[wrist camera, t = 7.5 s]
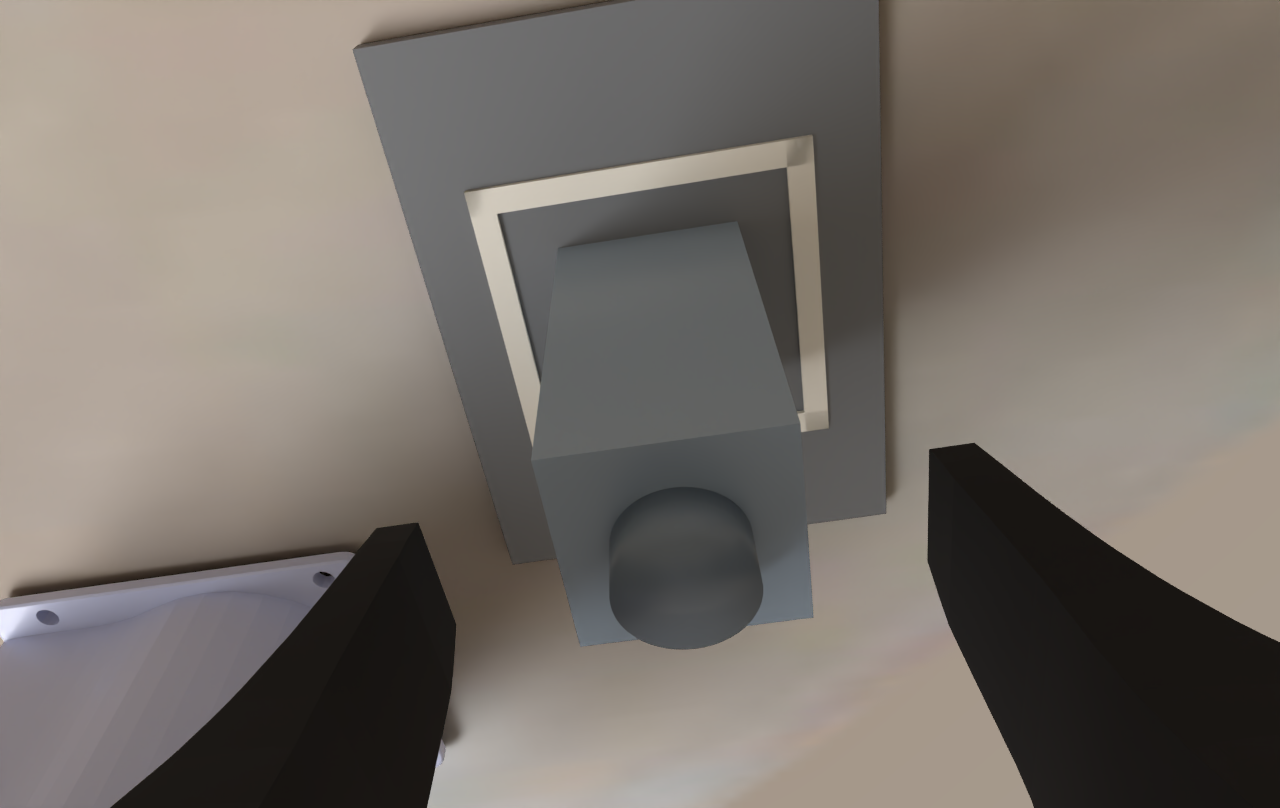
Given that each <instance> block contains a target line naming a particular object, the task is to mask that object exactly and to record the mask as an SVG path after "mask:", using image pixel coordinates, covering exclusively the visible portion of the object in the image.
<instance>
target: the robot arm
mask: <svg viewBox="0 0 1280 808" xmlns="http://www.w3.org/2000/svg"><path fill="white" fill-rule="evenodd" d="M928 564H929V567H930V570H931V573H932V576H933V579H934V582H935V585H936V588H937V592H938V595H939V598H940V601H941V603H942V606H943V609H944V612H945V615H946V618H947V621H948V624H949V626H950V628H951V630H952V633H953V635H954V637H955V639H956V641H957V643H958V645H959V647H960V650H961V652H962V654H963V656H964V658H965V660H966V662H967V664H968V666H969V668H970V671H971V673H972V675H973V677H974V679H975V681H976V683H977V685H978V687H979V689H980V691H981V693H982V695H983V697H984V699H985V702H986V703H987V706H988V708H989V710H990V712H991V714H992V716H993V718H994V720H995V722H996V724H997V726H998V728H999V730H1000V732H1001V734H1002V737H1003V738H1004V741H1005V743H1006V745H1007V747H1008V748H1009V751H1010V753H1011V755H1012V757H1013V759H1014V761H1015V763H1016V765H1017V768H1018V770H1019V772H1020V775H1021V777H1022V779H1023V782H1024V784H1025V786H1026V788H1027V791H1028V793H1029V795H1030V798H1031V800H1032V803H1033V806H1034V808H1280V642H1278V641H1276V640H1274V639H1271V638H1269V637H1267V636H1265V635H1263V634H1261V633H1259V632H1257V631H1255V630H1253V629H1251V628H1249V627H1247V626H1245V625H1243V624H1241V623H1239V622H1237V621H1235V620H1233V619H1232V618H1230V617H1228V616H1226V615H1224V614H1222V613H1220V612H1219V611H1217V610H1215V609H1213V608H1211V607H1210V606H1208V605H1206V604H1204V603H1203V602H1200V601H1199V600H1197V599H1195V598H1194V597H1192V596H1190V595H1188V594H1186V593H1184V592H1182V591H1181V590H1179V589H1177V588H1176V587H1174V586H1173V585H1170V584H1169V583H1167V582H1166V581H1164V580H1162V579H1161V578H1159V577H1157V576H1156V575H1154V574H1153V573H1151V572H1150V571H1148V570H1147V569H1145V568H1143V567H1142V566H1140V565H1139V564H1137V563H1136V562H1134V561H1132V560H1131V559H1130V558H1128V557H1126V556H1125V555H1123V554H1122V553H1120V552H1119V551H1117V550H1116V549H1114V548H1113V547H1111V546H1110V545H1108V544H1107V543H1105V542H1104V541H1102V540H1101V539H1100V538H1098V537H1097V536H1095V535H1094V534H1092V533H1091V532H1090V531H1088V530H1087V529H1086V528H1084V527H1083V526H1081V525H1080V524H1079V523H1077V522H1076V521H1075V520H1073V519H1072V518H1070V517H1069V516H1068V515H1066V514H1065V513H1064V512H1062V511H1061V510H1060V509H1058V508H1057V507H1056V506H1054V505H1053V504H1052V503H1050V502H1049V501H1048V500H1046V499H1045V498H1044V497H1043V496H1041V495H1040V494H1039V493H1037V492H1036V491H1035V490H1034V489H1032V488H1031V487H1030V486H1028V485H1027V484H1026V483H1025V482H1023V481H1022V480H1021V479H1020V478H1018V477H1017V476H1016V475H1015V474H1013V473H1012V472H1011V471H1010V470H1008V469H1007V468H1006V467H1004V466H1003V465H1002V464H1001V463H999V462H998V461H997V460H996V459H994V458H993V457H992V456H991V455H989V454H988V453H987V452H985V451H984V450H983V449H982V448H980V447H979V446H978V445H976V444H975V443H970V444H963V445H956V446H949V447H942V448H935V449H929V502H928ZM320 572H327V573H329V574H331V575H332V576H325V575H322V574H321V573H320ZM455 636H456V623H455V620H454V618H453V615H452V612H451V609H450V607H449V604H448V601H447V599H446V596H445V593H444V591H443V588H442V585H441V583H440V580H439V577H438V574H437V572H436V569H435V566H434V564H433V561H432V558H431V556H430V553H429V550H428V548H427V545H426V542H425V540H424V537H423V534H422V531H421V529H420V526H419V523H411V524H404V525H397V526H390V527H383V528H377V529H376V530H375V531H374V532H373V533H372V534H371V536H370V537H369V538H368V539H367V540H366V542H365V543H364V544H363V545H362V546H361V548H360V549H359V550H358V551H357V553H356V554H354V553H351V552H336V553H328V554H321V555H314V556H307V557H300V558H292V559H285V560H278V561H271V562H264V563H256V564H249V565H242V566H235V567H228V568H220V569H213V570H206V571H199V572H192V573H184V574H177V575H170V576H163V577H156V578H148V579H141V580H134V581H127V582H120V583H112V584H105V585H98V586H91V587H84V588H76V589H69V590H62V591H55V592H48V593H40V594H33V595H26V596H19V597H12V598H6V599H3V600H0V637H1V638H2V639H3V641H4V643H3V644H2V645H1V647H0V808H427V804H428V800H429V795H430V790H431V786H432V781H433V776H434V772H435V768H436V767H438V766H439V765H441V764H442V762H443V760H444V756H445V745H444V743H443V740H442V734H443V729H444V724H445V719H446V715H447V710H448V705H449V699H450V694H451V688H452V677H453V665H454V651H455Z"/></svg>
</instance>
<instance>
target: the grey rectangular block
mask: <svg viewBox="0 0 1280 808" xmlns="http://www.w3.org/2000/svg"><path fill="white" fill-rule="evenodd" d="M531 462H532V466H533V470H534V474H535V477H536V481H537V485H538V489H539V492H540V496H541V500H542V504H543V508H544V511H545V515H546V519H547V523H548V526H549V530H550V534H551V538H552V541H553V545H554V549H555V553H556V556H557V560H558V564H559V568H560V572H561V575H562V579H563V583H564V587H565V590H566V594H567V598H568V602H569V605H570V609H571V613H572V617H573V620H574V624H575V628H576V632H577V635H578V639H579V643H580V647H582V646H590V645H598V644H606V643H614V642H622V641H630V640H638V639H639V640H641V641H644V642H646V643H648V644H651V645H655V646H658V647H663V648H669V649H696V648H702V647H707V646H711V645H714V644H717V643H720V642H722V641H724V640H726V639H728V638H731V637H732V636H734V635H735V634H737V633H739V632H740V631H741V630H742V629H744V628H745V627H746V626H749V625H757V624H765V623H773V622H781V621H789V620H797V619H805V618H813V604H812V589H811V574H810V559H809V544H808V529H807V514H806V499H805V484H804V469H803V454H802V439H801V424H800V420H799V417H798V414H797V411H796V407H795V404H794V401H793V398H792V395H791V392H790V388H789V385H788V382H787V379H786V376H785V372H784V369H783V366H782V363H781V360H780V356H779V353H778V350H777V347H776V344H775V340H774V337H773V334H772V331H771V328H770V324H769V321H768V318H767V315H766V312H765V308H764V305H763V302H762V299H761V296H760V292H759V289H758V286H757V283H756V280H755V276H754V273H753V270H752V267H751V264H750V261H749V257H748V254H747V251H746V248H745V245H744V241H743V238H742V235H741V232H740V229H739V225H738V222H737V221H735V222H728V223H722V224H715V225H709V226H702V227H695V228H689V229H682V230H676V231H669V232H662V233H656V234H649V235H643V236H636V237H629V238H623V239H616V240H610V241H603V242H596V243H590V244H583V245H577V246H570V247H563V248H558V252H557V260H556V268H555V276H554V284H553V292H552V299H551V307H550V315H549V323H548V331H547V339H546V347H545V354H544V362H543V370H542V378H541V386H540V394H539V402H538V409H537V417H536V425H535V433H534V441H533V449H532V457H531Z"/></svg>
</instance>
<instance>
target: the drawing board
mask: <svg viewBox="0 0 1280 808" xmlns="http://www.w3.org/2000/svg"><path fill="white" fill-rule="evenodd" d="M353 53H354V56H355V59H356V62H357V66H358V69H359V72H360V75H361V78H362V82H363V85H364V88H365V91H366V95H367V98H368V101H369V104H370V107H371V111H372V114H373V117H374V120H375V123H376V127H377V130H378V133H379V136H380V140H381V143H382V146H383V149H384V152H385V156H386V159H387V162H388V165H389V168H390V172H391V175H392V178H393V181H394V185H395V188H396V191H397V194H398V197H399V201H400V204H401V207H402V210H403V213H404V217H405V220H406V223H407V226H408V230H409V233H410V236H411V239H412V242H413V246H414V249H415V252H416V255H417V258H418V262H419V265H420V268H421V271H422V275H423V278H424V281H425V284H426V287H427V291H428V294H429V297H430V300H431V303H432V307H433V310H434V313H435V316H436V320H437V323H438V326H439V329H440V332H441V336H442V339H443V342H444V345H445V348H446V352H447V355H448V358H449V361H450V365H451V368H452V371H453V374H454V377H455V381H456V384H457V387H458V390H459V393H460V397H461V400H462V403H463V406H464V410H465V413H466V416H467V419H468V422H469V426H470V429H471V432H472V435H473V438H474V442H475V445H476V448H477V451H478V455H479V458H480V461H481V464H482V467H483V471H484V474H485V477H486V480H487V483H488V487H489V490H490V493H491V496H492V500H493V503H494V506H495V509H496V512H497V516H498V519H499V522H500V525H501V528H502V532H503V535H504V538H505V541H506V545H507V548H508V551H509V554H510V557H511V561H512V564H520V563H528V562H535V561H542V560H550V559H557V556H556V553H555V549H554V545H553V541H552V538H551V534H550V530H549V526H548V523H547V519H546V515H545V511H544V508H543V504H542V500H541V496H540V492H539V489H538V485H537V481H536V477H535V474H534V470H533V466H532V462H531V457H532V449H533V441H534V433H535V425H536V417H537V409H538V402H539V394H540V386H541V378H542V370H543V362H544V354H545V347H546V339H547V331H548V323H549V315H550V307H551V299H552V292H553V284H554V276H555V268H556V260H557V252H558V248H563V247H570V246H577V245H583V244H590V243H596V242H603V241H610V240H616V239H623V238H629V237H636V236H643V235H649V234H656V233H662V232H669V231H676V230H682V229H689V228H695V227H702V226H709V225H715V224H722V223H728V222H735V221H737V222H738V225H739V229H740V232H741V235H742V238H743V241H744V245H745V248H746V251H747V254H748V257H749V261H750V264H751V267H752V270H753V273H754V276H755V280H756V283H757V286H758V289H759V292H760V296H761V299H762V302H763V305H764V308H765V312H766V315H767V318H768V321H769V324H770V328H771V331H772V334H773V337H774V340H775V344H776V347H777V350H778V353H779V356H780V360H781V363H782V366H783V369H784V372H785V376H786V379H787V382H788V385H789V388H790V392H791V395H792V398H793V401H794V404H795V407H796V411H797V414H798V417H799V420H800V424H801V439H802V454H803V469H804V484H805V499H806V514H807V524H814V523H821V522H828V521H836V520H843V519H850V518H858V517H865V516H872V515H880V514H886V464H885V395H884V326H883V258H882V189H881V121H880V52H879V0H613V1H607V2H601V3H596V4H590V5H584V6H578V7H573V8H567V9H561V10H555V11H550V12H544V13H538V14H532V15H527V16H521V17H515V18H509V19H504V20H498V21H492V22H486V23H481V24H475V25H469V26H464V27H458V28H452V29H446V30H441V31H435V32H429V33H423V34H418V35H412V36H406V37H400V38H395V39H389V40H383V41H377V42H372V43H366V44H360V45H357V46H356V47H355V48H354V49H353Z"/></svg>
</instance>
